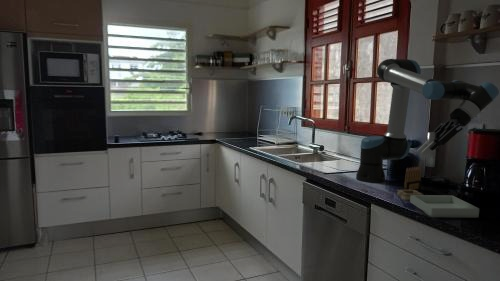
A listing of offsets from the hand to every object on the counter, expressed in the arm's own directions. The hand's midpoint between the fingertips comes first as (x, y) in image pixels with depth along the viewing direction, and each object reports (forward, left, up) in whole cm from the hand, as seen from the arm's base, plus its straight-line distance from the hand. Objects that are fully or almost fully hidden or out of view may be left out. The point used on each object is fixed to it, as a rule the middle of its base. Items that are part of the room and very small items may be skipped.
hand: (421, 153), depth 151 cm
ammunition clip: (-22, +8, -22) cm, 32 cm away
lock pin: (0, +4, -5) cm, 6 cm away
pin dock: (-9, +1, -22) cm, 24 cm away
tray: (+7, +7, -22) cm, 24 cm away
